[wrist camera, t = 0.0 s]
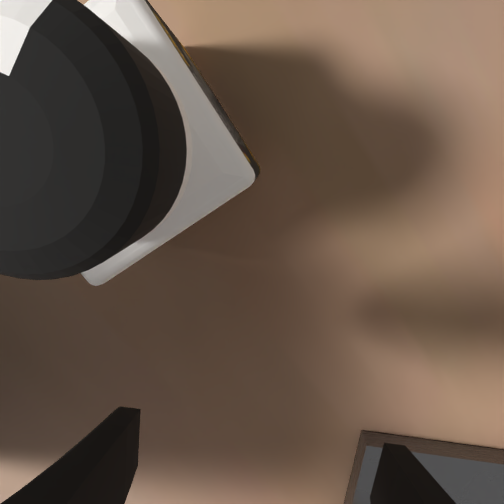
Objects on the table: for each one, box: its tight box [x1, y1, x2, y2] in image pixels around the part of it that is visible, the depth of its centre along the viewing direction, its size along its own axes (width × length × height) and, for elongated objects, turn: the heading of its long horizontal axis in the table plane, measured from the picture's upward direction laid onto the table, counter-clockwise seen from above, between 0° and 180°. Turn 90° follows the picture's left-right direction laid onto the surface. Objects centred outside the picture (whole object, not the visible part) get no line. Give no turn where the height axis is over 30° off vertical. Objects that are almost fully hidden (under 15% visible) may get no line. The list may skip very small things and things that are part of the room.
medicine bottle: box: [0, 0, 260, 286], centre depth 12 cm, size 7×7×12 cm
